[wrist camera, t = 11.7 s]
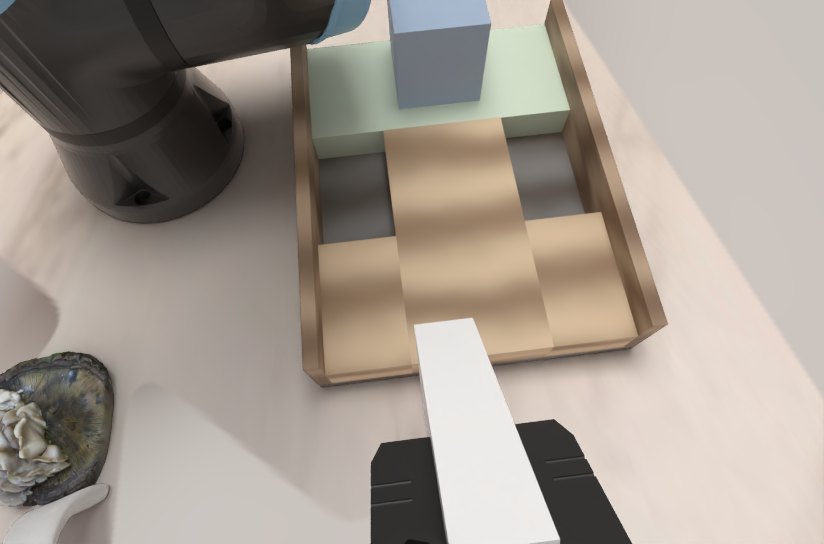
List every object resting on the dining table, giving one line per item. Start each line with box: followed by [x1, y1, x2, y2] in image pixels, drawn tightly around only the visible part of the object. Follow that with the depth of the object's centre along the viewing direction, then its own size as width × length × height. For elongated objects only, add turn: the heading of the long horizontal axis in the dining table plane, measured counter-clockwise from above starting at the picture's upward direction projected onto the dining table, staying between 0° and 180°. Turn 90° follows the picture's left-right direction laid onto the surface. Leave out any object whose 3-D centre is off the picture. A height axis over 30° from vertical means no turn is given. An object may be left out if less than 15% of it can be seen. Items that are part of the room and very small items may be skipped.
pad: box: [307, 24, 570, 159], centre depth 47 cm, size 10×22×3 cm, turn 97°
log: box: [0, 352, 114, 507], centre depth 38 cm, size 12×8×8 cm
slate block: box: [387, 0, 491, 109], centre depth 42 cm, size 7×7×8 cm
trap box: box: [290, 0, 668, 387], centre depth 42 cm, size 30×24×6 cm
